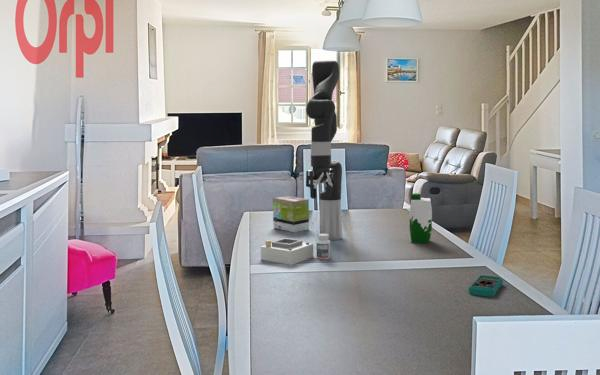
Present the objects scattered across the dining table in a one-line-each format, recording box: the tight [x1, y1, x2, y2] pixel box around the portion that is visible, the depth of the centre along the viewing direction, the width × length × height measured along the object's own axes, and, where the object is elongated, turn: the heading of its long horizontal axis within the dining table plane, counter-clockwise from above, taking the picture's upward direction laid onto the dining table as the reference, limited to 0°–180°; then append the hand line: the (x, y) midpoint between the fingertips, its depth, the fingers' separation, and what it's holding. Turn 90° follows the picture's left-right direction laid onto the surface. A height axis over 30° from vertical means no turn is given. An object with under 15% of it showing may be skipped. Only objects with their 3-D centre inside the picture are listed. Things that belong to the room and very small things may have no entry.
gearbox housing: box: [260, 237, 314, 266], centre depth 218 cm, size 14×14×7 cm
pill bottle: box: [316, 233, 332, 260], centre depth 218 cm, size 5×5×9 cm
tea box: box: [272, 195, 310, 233], centre depth 274 cm, size 15×10×15 cm, turn 43°
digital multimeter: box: [468, 274, 504, 298], centre depth 178 cm, size 7×15×3 cm, turn 151°
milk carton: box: [409, 193, 433, 245], centre depth 243 cm, size 9×9×20 cm
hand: (321, 197), depth 218 cm, fingers open, 8 cm apart
